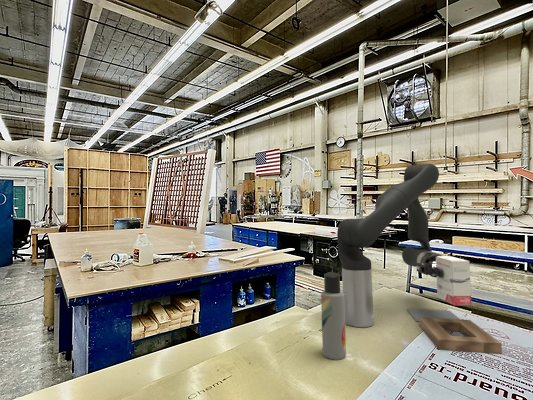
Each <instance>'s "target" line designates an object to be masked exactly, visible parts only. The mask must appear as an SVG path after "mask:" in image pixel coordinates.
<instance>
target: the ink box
mask: <svg viewBox="0 0 533 400" xmlns="http://www.w3.org/2000/svg"><path fill="white" fill-rule="evenodd" d="M436 268H440V269H441V270H442V271H443V278H439V277H438V276H437V278H436V293H437V294H436V296H437V298H439V299H441V300H443V301H444V302H446V303H448V304H450V305H452V306H472V290H471V289H472V288H471V287H472V286H471V269H470V260H467V259H462V258H458V257H454V256H449V255H442V256H437V257H436Z"/></svg>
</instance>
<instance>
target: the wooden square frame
mask: <svg viewBox="0 0 533 400" xmlns="http://www.w3.org/2000/svg"><path fill="white" fill-rule="evenodd" d="M418 323H419V325H418V326H419V327H420V328H421V329H422V331H423V332H424V333H425V335H426V336H427V335H428V336H429V337H428V336H427V337H428V338H429V339H430V341H431V342H432V341H433V342H432V343H433V344H434V345H435V347H436V346H437V347H436V348H437V349H438V350H443V351H453V352H454V351H455V352H470V353H485V354H486V353H487V354H500V355H501V354H503V348H502V345H503V343H502V342H501V341H499V340H497V339H496V338H495V337H494V336H493V335H491V334H490V333H488V332H487V331H485V330H484V329H483V328H482V327H481V326H479V325H477V324H476V323H475V322H474V321H472V320H470V319H461V318H460V319H442V318H421V317H419V322H418ZM445 330H450V331H449V332H460V333H461V332H462V333H463V334H462V333H461V334H462V335H464V336H462V335H460V336H459V335H450V334H449V332H448V331H445Z"/></svg>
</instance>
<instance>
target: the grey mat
mask: <svg viewBox="0 0 533 400" xmlns="http://www.w3.org/2000/svg"><path fill="white" fill-rule="evenodd" d="M405 311H407V312H408V314H409V315H410V316H411V317H412V319H413V320H414V321H415V322H416V323H419V317H421V318H442V319H461V318H459V317H458V316H457V315H456V314H455V313H454V312H452V311H451V310H444V309H442V310H441V309H422V308H421V309H420V308H406V310H405Z"/></svg>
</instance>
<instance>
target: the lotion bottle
mask: <svg viewBox="0 0 533 400" xmlns="http://www.w3.org/2000/svg"><path fill="white" fill-rule="evenodd" d="M323 274H324V275H323V278H324V279H323V280H324V282H323V283H324V290H322V291H321V292H320V293H321V294H320V305H321V307H320V308H321V337H322V353H323V356H324V357H325V358H328V359H329V360H342V359H345V358H346V356H347V338H346V337H347V336H346V325H345V305H344V293H343V292H342V290H341V280H340V279H341V278H340V277H341V276H340V274H339V273H337V272H334V271H329V272H326V273H323Z"/></svg>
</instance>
